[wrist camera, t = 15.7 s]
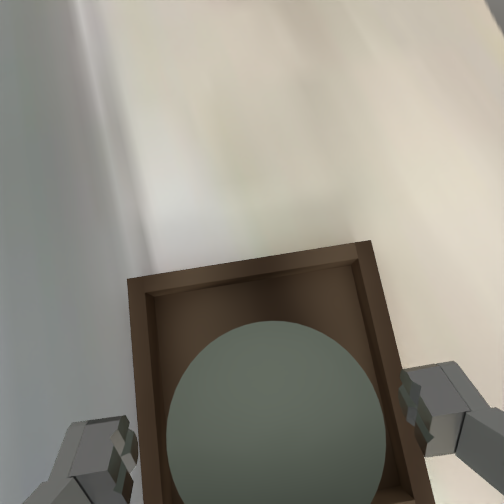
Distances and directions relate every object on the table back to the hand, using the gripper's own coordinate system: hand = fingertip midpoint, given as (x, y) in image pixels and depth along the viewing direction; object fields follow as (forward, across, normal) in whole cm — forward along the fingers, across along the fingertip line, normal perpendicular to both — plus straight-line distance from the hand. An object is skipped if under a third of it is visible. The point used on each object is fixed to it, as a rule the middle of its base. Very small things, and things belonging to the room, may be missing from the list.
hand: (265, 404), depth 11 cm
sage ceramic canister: (+5, 0, +6) cm, 8 cm away
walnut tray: (+6, 0, +6) cm, 8 cm away
